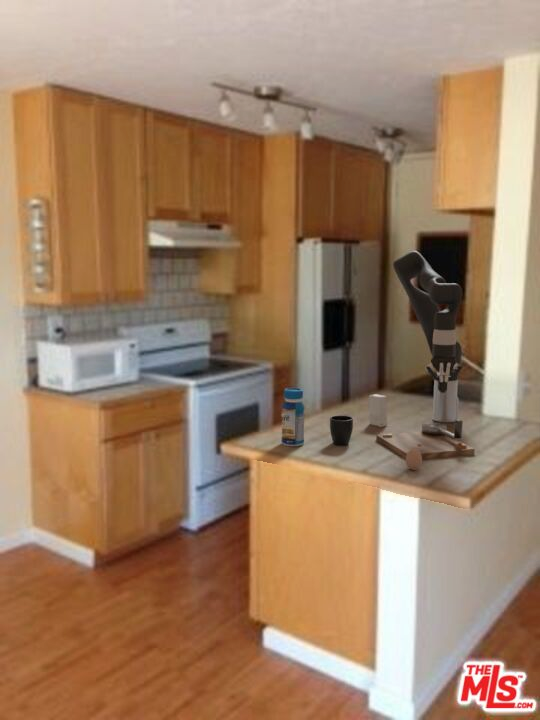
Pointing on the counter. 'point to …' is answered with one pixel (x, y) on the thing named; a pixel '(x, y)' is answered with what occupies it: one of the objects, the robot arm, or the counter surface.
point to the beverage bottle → (293, 417)
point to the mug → (341, 429)
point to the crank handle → (443, 429)
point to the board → (424, 445)
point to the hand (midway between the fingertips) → (442, 392)
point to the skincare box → (378, 410)
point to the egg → (413, 459)
